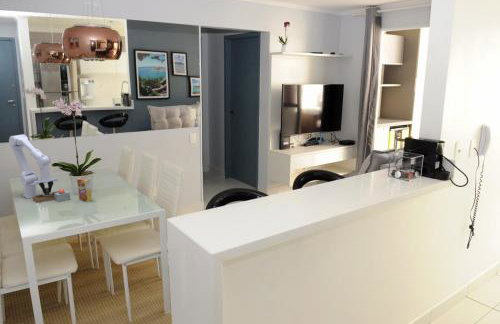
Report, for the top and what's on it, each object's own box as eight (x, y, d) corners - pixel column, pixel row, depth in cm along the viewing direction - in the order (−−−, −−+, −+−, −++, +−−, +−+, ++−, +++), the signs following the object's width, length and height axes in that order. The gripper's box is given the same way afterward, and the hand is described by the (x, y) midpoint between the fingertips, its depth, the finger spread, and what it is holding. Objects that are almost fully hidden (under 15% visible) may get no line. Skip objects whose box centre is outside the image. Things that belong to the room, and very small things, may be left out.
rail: (33, 200, 269) (32, 196, 268) (61, 194, 282) (61, 190, 282) (36, 203, 264) (36, 198, 263) (65, 197, 277) (65, 193, 276)
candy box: (78, 200, 271) (76, 178, 268) (83, 198, 275) (81, 177, 271) (87, 202, 267) (85, 180, 263) (92, 200, 270) (90, 179, 267)
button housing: (54, 200, 270) (54, 193, 269) (66, 197, 276) (66, 190, 275) (58, 202, 266) (57, 195, 265) (70, 199, 272) (69, 192, 271)
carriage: (41, 197, 271) (40, 188, 270) (50, 195, 276) (49, 186, 274) (44, 198, 268) (43, 189, 266) (53, 197, 272) (52, 188, 271)
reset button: (59, 194, 270) (58, 189, 269) (63, 194, 272) (63, 188, 271) (60, 195, 268) (60, 190, 267) (65, 195, 270) (64, 189, 269)
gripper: (35, 176, 260) (37, 196, 263) (58, 173, 270) (60, 191, 273) (32, 174, 265) (34, 193, 268) (54, 171, 275) (56, 189, 278)
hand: (47, 192), depth 271 cm, fingers closed on carriage, 3 cm apart
